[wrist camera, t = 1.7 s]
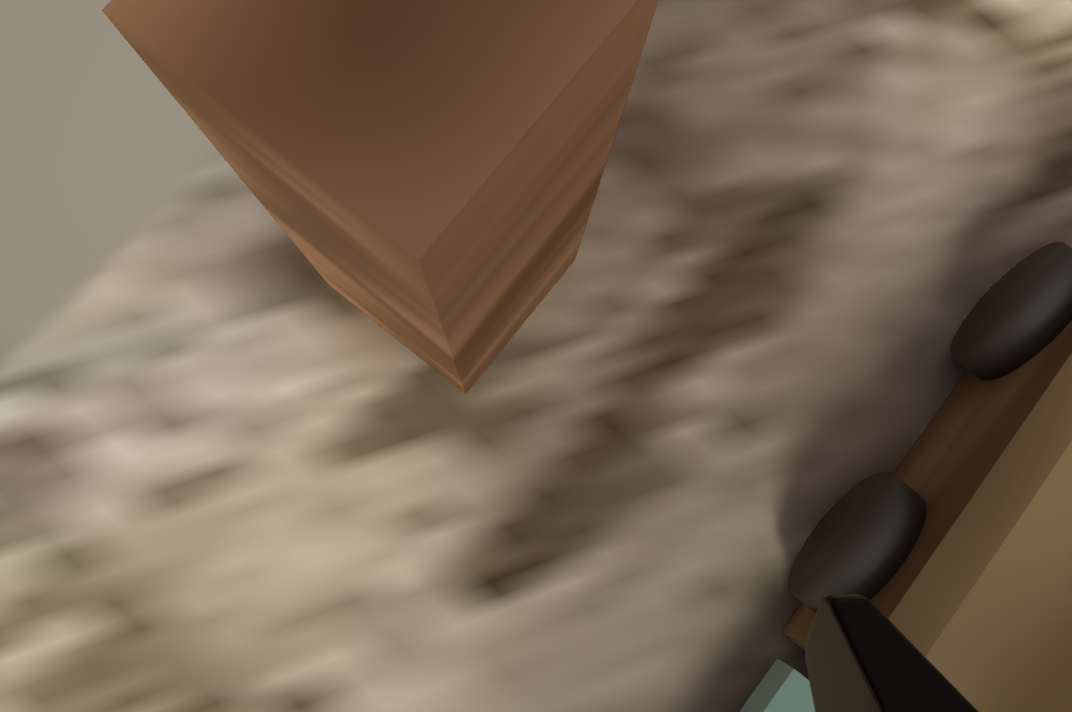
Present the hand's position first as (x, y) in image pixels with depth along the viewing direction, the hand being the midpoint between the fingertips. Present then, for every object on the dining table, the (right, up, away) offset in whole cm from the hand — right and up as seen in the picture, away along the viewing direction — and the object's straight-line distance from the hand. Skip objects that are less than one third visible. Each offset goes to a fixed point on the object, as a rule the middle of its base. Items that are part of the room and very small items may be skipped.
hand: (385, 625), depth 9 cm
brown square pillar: (-1, +5, +14) cm, 15 cm away
